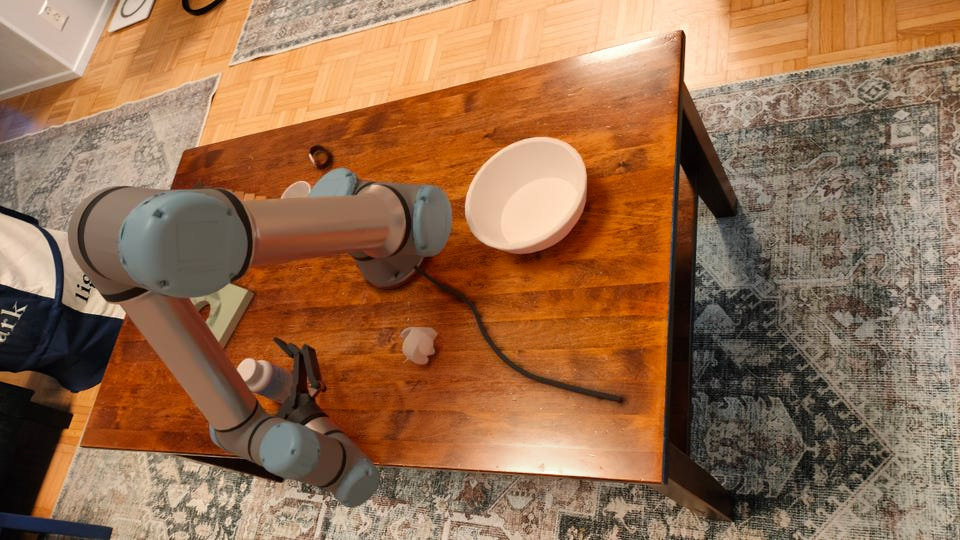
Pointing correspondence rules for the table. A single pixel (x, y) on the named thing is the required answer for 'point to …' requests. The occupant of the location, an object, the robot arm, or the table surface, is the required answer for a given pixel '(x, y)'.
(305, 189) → the mug
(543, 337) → the table surface
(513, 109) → the table surface
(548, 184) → the bowl
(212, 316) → the mounting pad
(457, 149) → the table surface
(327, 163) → the watch
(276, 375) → the pill bottle
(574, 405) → the table surface
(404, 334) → the elephant figurine
